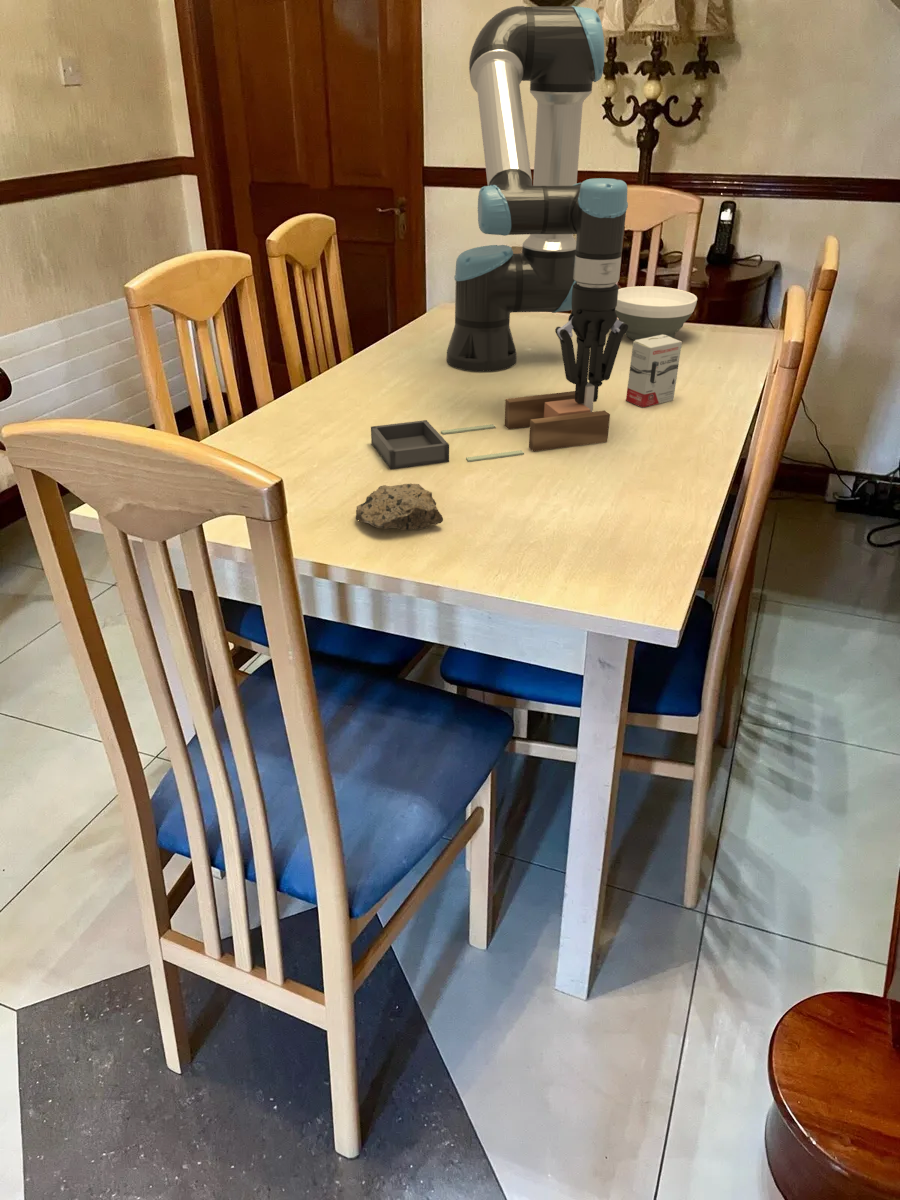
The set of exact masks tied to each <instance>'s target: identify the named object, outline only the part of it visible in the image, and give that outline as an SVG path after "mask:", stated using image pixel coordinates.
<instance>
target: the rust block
mask: <svg viewBox="0 0 900 1200" xmlns="http://www.w3.org/2000/svg"><path fill="white" fill-rule="evenodd" d="M588 412H590V409H589V408H588V407H586V406H585V405H583V404H578V403H577V402H576V401H575V399H569V400H560V401H551V402H545V405H544V418H547V417H555V416H563V415H571V414H580V413H588Z"/></svg>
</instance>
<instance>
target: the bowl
mask: <svg viewBox="0 0 900 1200" xmlns="http://www.w3.org/2000/svg"><path fill="white" fill-rule="evenodd" d="M697 301H698V297H697V295H695V294H694V293H691V292H689V291H686V290H683V289H678V288H672V287H667V286H666V287H665V286H651V285H649V286H648V285H644V286H643V285H642V286H641V285H640V286H639V285H637V286H627V287H622V288H618V299H617V306H616V308H615V311H616V314H617V319H618V320H619V321H621V322H623V323H625V324H627V325H628V330H627V331H626V333H625V334H624V335H625V336H626V337H627V338H628V339H630V340H632V341H635V340H639V339H643V338H648V337H653V336H658V335H662V334H663V335H667V336H669V337H672V338H674V337H675V335H676V333H677V332H678V331H680V330H681V329H682V328H683V327H684V324H685V322H687V320H689V318H691V315H693V312H694V310H695V308H696V306H697Z"/></svg>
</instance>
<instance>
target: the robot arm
mask: <svg viewBox="0 0 900 1200" xmlns="http://www.w3.org/2000/svg"><path fill="white" fill-rule="evenodd" d="M468 65H469V67H468V70H469V71H468V72H469V79H470V84H471V86H472V88H473V90H474V91H475V92H476V93H477V101H478V110H479V111H478V112H479V118H480V128H481V136H482V146H483V147H482V148H483V153H484V154H483V155H484V163H485V172H486V173H485V174H486V182H487V185H484V186H482V187H480V189H479V192H478V197H477V223H478V228H479V229H480V232H481V233H483V234H484V235H492V236H493V235H494V236H496V235H497V236H503V237H504V236H505V237H506V236H520V235H522V236H523V235H529V236H528V237H527V238H526V239H525V240H524V241H523V243H522V251H521V252H520V253H514V250H513V248H512V247H511V246H510V245H505V244H499V245H498V244H492V245H483V246H477V247H473V248H469V249H466V250H464V251H463V252H461V253H459V255H458V256H457V258H456V262H455V270H454V271H455V275H454V277H453V278H454V281H455V295H454V296H455V298H454V301H455V302H454V303H455V304H454V328H453V331H452V333H451V337H450V340H449V343H448V346H447V349H446V364H448V365H449V366H451V367H452V368H455V369H458V370H462V371H469V372H496V371H503V370H506V369H510V368H512V367H514V366H515V365H516V364H517V350H516V349H517V348H516V345H515V342H514V337H513V335H512V334H513V333H512V331H511V327H510V326H511V325H510V323H511V321H510V319H511V317H510V316H511V313H551V314H552V313H553V314H554V313H557V312H569V311H571V312H570V315H569V316H568V321H567V322H566V323H565V324H563V325H562V326H556V327H555V330H554V332H555V334H556V336H557V337H558V339H559V342H560V348H561V355H562V361H563V362H562V363H563V368H564V376H565V379H566V381H568V382H569V383H571V384H573V385H575V390H574V391H575V401H576V402H577V403H578V404H583V405H585V406H586V407H588V408H589V409H590V412H593V408H594V403H595V402H597V400H598V396H599V395H598V394H599V387H602V385H603V381H608V380H610V377H611V375H612V371H613V369H614V365H615V362H616V358H617V355H618V352H619V349H620V346H621V344H622V339H623V337H624V336H625V335H626V334H625V333H626V331H627V330H628V325H627V324H625V323H623V322H621V321H619V319H618V317H617V314H616V311H615V308H616V306H617V299H618V289H620V288H619V286H618V284H617V283H618V282H620V281H619V280H620V277H621V276H620V274H621V273H620V272H621V264H622V255H623V254H622V252H623V246H624V245H623V244H624V235H625V225H626V217H627V215H626V214H627V210H628V207H629V206H628V205H629V203H628V190H629V189H628V185H627V183H626V182H625V181H624V180H622V179H616V178H605V177H604V178H603V177H601V178H600V177H599V178H596V177H595V178H589V179H587V178H586V180H583V181H582V182H578V169H579V156H580V142H581V129H582V117H583V104H584V101H586V99H587V98H588V97H589V96H590V95H592V92H593V91H592V90H593V83H597V82H599V81H600V80H601V79H602V76H603V73H604V67H605V36H604V29H603V24H602V20H601V18H600V15H599V13H598V12H597V11H596V10H594V9H593V8H590V7H582V6H575V5H570V6H524V5H516V6H511V7H508V8H505V9H502V10H501V11H499V12H498V13H496V14H495V15H493V17H492V18H490V19H489V20H488V21H487V22H486V23H485V25H484V26H483V27H482V28H481V30H480V31H479V33H478V35H477V36H476V39H475V41H474V43H473V46H472V48H471V51H470V56H469V63H468ZM522 81H523V82H524V81H525V82H526V81H528V82H530V83H529V84H530V85H529V86H530V87H529V92H530V94H531V95H532V96H533V98H534V99H535V100H536V103H537V104H536V105H537V108H536V126H535V127H536V128H535V142H534V161H533V162H534V164H533V179H532V171H531V170H532V169H531V163H530V155H529V147H528V140H527V133H526V131H527V130H526V125H525V117H524V110H523V109H524V108H523V102H522V93H521V87H520V86H521V85H520V84H521V83H522ZM577 182H578V183H577ZM574 235H576V236H575V237H576V239H575V238H574ZM573 332H574V334H575V336H576V339H575V340H576V345H577V348H576V355H575V349H574V342H573V339H572V337H573ZM608 333H609V334H608ZM607 335H608V337H607ZM604 346H605V347H604Z"/></svg>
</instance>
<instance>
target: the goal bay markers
mask: <svg viewBox="0 0 900 1200" xmlns="http://www.w3.org/2000/svg"><path fill="white" fill-rule="evenodd" d="M490 429H496V425H495V424H494V423H491V424H484V425H483V424H482V425H476V426H466V427H459V428H452V429H451V428H450V429H445V430H444V429H443V430H440V434H442V435H450V434H458V433H465V432H475V431H482V430H490ZM522 455H525V452H524V451H523V450H522V449H520V450H513V451H505V452H498V453H491V454H483V455H477V456H476V455H475V456H468V457H465V460H466V461H467V463H470V462H478V461H485V460H492V459H499V458H501V459H502V458H508V457H513V456H522Z"/></svg>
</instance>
